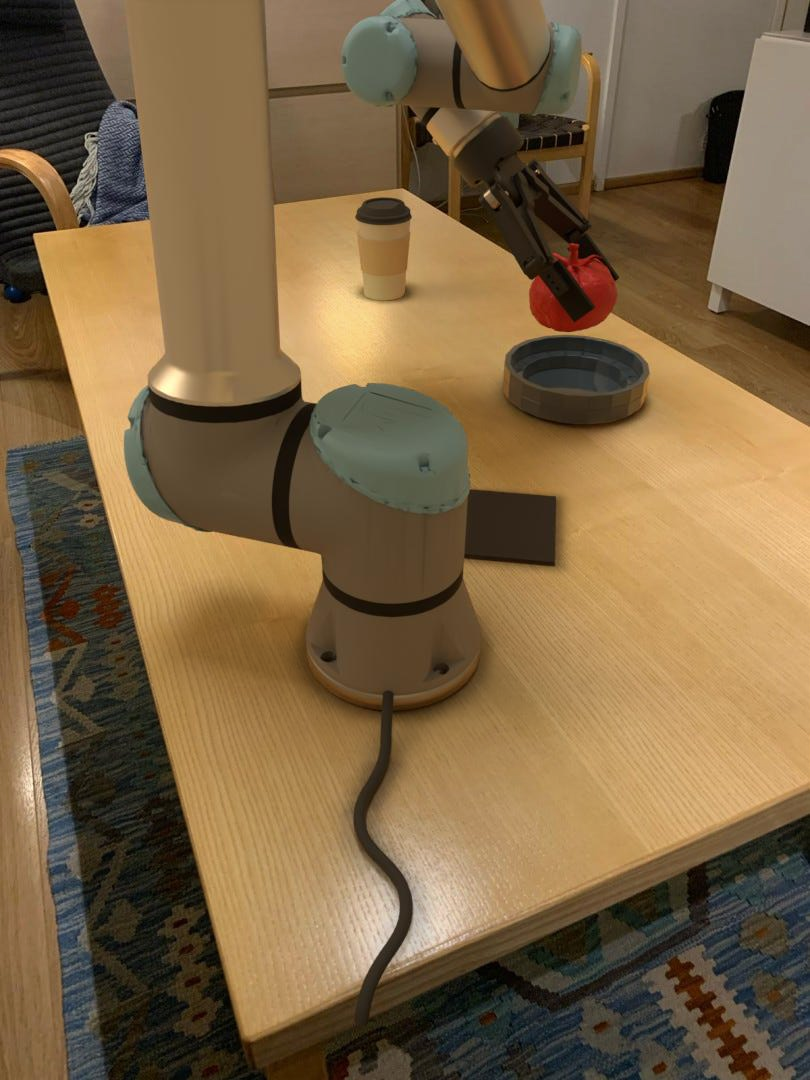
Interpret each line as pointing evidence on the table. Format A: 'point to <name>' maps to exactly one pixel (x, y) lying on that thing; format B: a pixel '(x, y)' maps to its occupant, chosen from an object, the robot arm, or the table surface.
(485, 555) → the mat
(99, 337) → the table surface
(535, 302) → the red tomato
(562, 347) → the bowl
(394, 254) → the coffee cup
